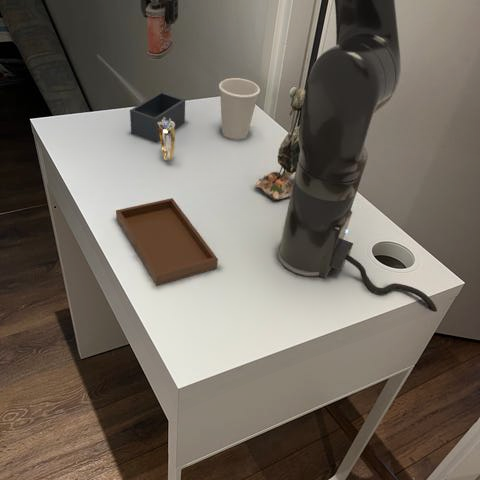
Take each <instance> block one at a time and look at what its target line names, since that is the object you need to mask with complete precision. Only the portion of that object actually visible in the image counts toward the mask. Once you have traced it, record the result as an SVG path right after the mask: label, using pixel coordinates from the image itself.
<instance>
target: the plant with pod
mask: <svg viewBox="0 0 480 480" xmlns="http://www.w3.org/2000/svg"><path fill="white" fill-rule="evenodd" d="M305 90H306V89H303V87H300V88H296V89H295V91H294V92H293V94H292V98H291V102H290V106H291V110H290V113H289V116H290V117H291V116H292V115H293V113H294V112H296V115H295V120H294V123H293V127H292V128H291V130H290V131H289V132H288V133H287V134H286V136H285V137H284V139H283V141H282V142H281V144H280V145H279V148H278V151H277V152H278V153H277V163H278V165H279V166H281V167H280V170H279V172H278V171H271V172H270V173H268V174H266V175H263V177H262V178H259V179H258V181H257V183H256V184H255V185H254V187H255V188H256V189H261V191H262V192H264V193H265V195H267V196H269V198H270V199H271V200H275V201H277V200H281V199H282V200H283V199H285V198H288V197H290V196H291V191H292V187H293V182H294V180H293V181H292V180H290V177H291V176H293V175H294V174H295V173H296V168H297V163H298V159H299V154H300V146H299V141H298V134H299V126H297V123H298V120H299V116H300V112H302V108H303V101H304V96H305ZM282 170H283V171H282ZM281 172H282V173H281Z"/></svg>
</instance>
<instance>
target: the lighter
mask: <svg viewBox="0 0 480 480" xmlns="http://www.w3.org/2000/svg"><path fill="white" fill-rule="evenodd" d="M146 15H147V18H146V19H147V44H148V45H147V47H148V49H147V58H148V59H150V60H154V61H160V60H163V59H165V58H166V57H167V56H168V55H170V53H171V52H172V49H173V41H172V24H171V25H169V24H166V21H165V0H151V3H149V4H148V6H147V7H146Z"/></svg>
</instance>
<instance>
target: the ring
mask: <svg viewBox="0 0 480 480" xmlns="http://www.w3.org/2000/svg"><path fill="white" fill-rule="evenodd" d="M174 127H175V123H174V122H173V121H171V119H169V121H166V120H165V117H163V120H162V122H158V130H159V136H160V141H159V142H160V147H161V149H162V150H161V152H162V155H163V160H165V161H171V160H172V159H173V155H174V151H175V142H176V134H175V133H176V132H175V130H174ZM161 129H162V131H161ZM169 130H170V133H169V134H170V135H169V134H168V132H167V131H169ZM166 144H167V145H166Z"/></svg>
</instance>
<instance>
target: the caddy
mask: <svg viewBox="0 0 480 480" xmlns="http://www.w3.org/2000/svg"><path fill="white" fill-rule="evenodd" d="M163 117H165V120H166V121H169V119H171V121H173V122H174V123H175V127H174V131H175V130H176V129H178V128H179V127H181V126H182V125H183V124H184V123H185V122H186V100H185V99H184V98H181V97H178V96H174V95H172V94H169V93H166V92H163V91H159V92H157V93H156V94H154V95H152V96H150V97H149V98H148V99H145V100H144V101H143V102H141V103H139V104H138V105H136V106H134V107H133V108H131V109H129V121H130V133H131V135H135V136H137V137H139V138H142V139H145V140H147V141H150V142H153V143H156V144H157V143H158V142H161V141H160V136H159V130H158V122H162V120H163ZM161 131H162V129H161ZM167 132H168V135H169V134H171V133H170V130H169V131H167Z"/></svg>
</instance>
